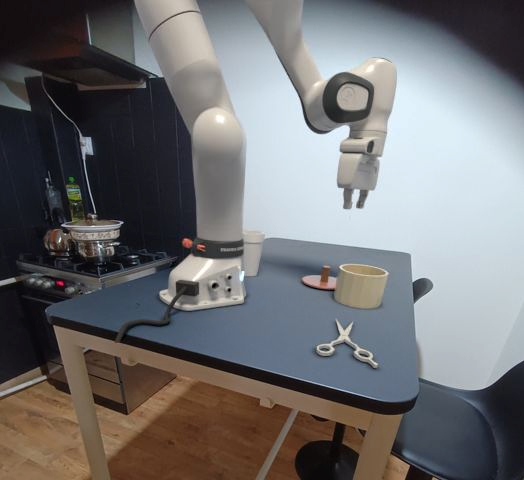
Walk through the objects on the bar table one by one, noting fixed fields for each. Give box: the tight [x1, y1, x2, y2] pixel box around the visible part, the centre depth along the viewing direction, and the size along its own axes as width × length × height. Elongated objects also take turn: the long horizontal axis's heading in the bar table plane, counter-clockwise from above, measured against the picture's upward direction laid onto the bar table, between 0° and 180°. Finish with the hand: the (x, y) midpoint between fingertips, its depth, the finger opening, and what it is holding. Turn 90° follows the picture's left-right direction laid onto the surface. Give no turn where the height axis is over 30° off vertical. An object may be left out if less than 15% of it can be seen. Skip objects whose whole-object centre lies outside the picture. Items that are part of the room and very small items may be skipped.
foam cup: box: [242, 229, 266, 277], centre depth 101 cm, size 10×9×13 cm
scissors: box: [316, 318, 379, 369], centre depth 64 cm, size 11×1×20 cm
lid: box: [301, 265, 337, 290], centre depth 98 cm, size 14×14×6 cm
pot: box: [333, 263, 390, 310], centre depth 85 cm, size 13×13×8 cm
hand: (353, 208), depth 84 cm, fingers open, 8 cm apart
